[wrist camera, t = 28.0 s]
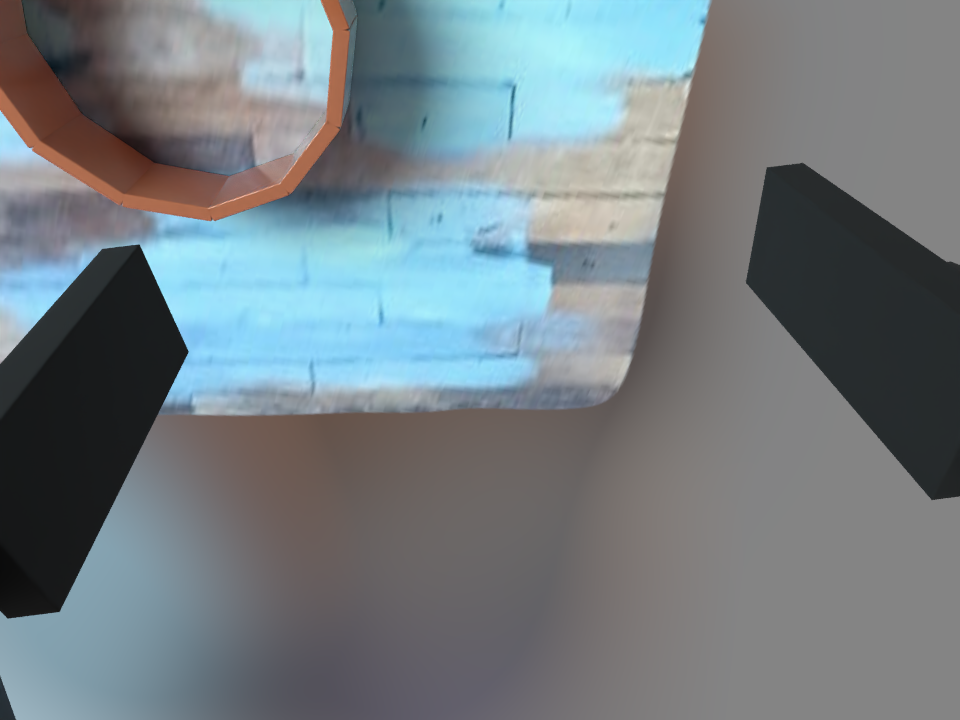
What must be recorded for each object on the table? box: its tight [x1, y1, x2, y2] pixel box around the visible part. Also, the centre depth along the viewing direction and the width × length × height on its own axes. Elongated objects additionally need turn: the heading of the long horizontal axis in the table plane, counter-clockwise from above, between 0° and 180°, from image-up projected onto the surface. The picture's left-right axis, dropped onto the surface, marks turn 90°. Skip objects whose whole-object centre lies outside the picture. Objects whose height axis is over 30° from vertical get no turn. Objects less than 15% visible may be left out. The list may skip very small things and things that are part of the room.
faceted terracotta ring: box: [0, 0, 358, 221], centre depth 32 cm, size 18×18×5 cm
